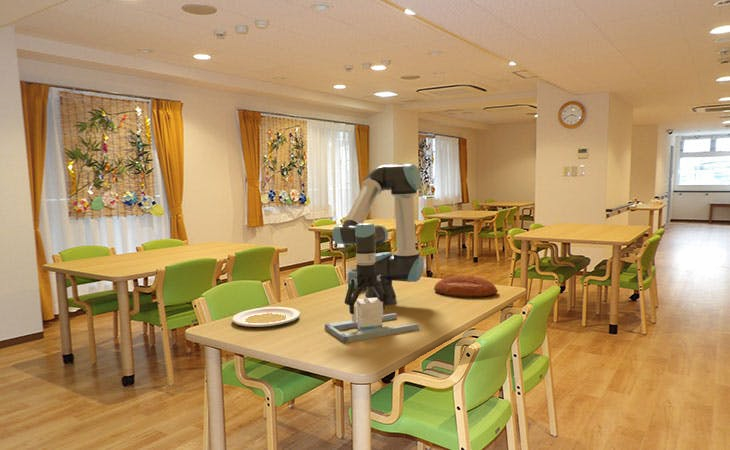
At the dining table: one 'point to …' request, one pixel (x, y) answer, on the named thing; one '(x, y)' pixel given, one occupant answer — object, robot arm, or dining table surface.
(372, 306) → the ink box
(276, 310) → the plate
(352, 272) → the mug
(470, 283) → the bread
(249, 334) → the dining table surface
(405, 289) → the dining table surface
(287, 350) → the dining table surface
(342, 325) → the dock
